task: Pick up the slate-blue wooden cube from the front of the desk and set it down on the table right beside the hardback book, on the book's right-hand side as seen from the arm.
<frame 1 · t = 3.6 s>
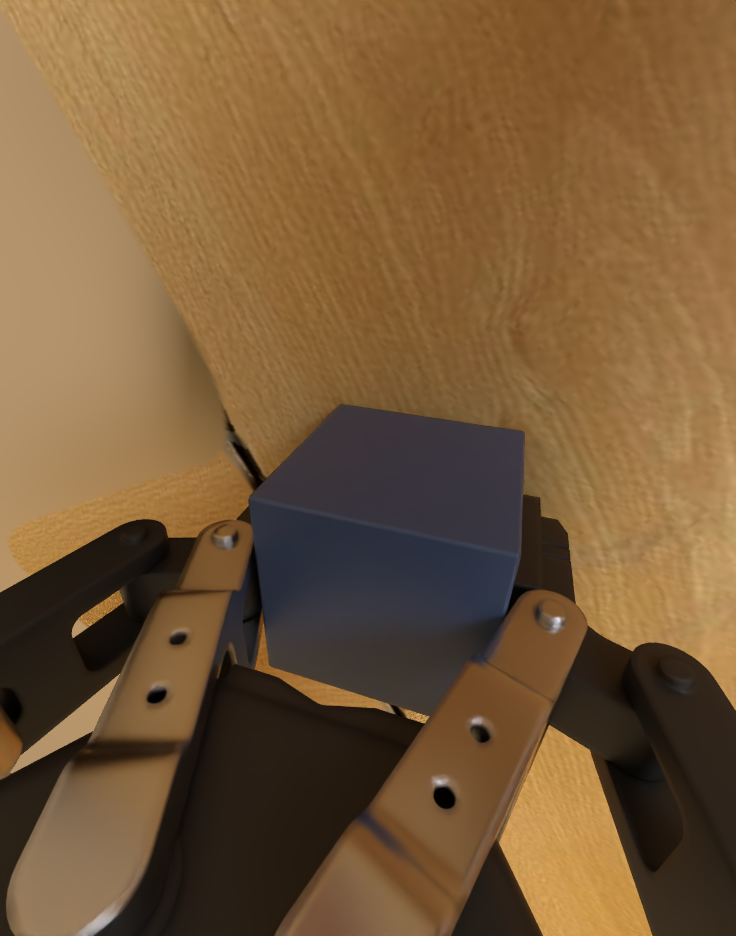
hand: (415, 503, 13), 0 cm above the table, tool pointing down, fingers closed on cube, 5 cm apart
cube: (419, 494, 13), on the table, touching gripper
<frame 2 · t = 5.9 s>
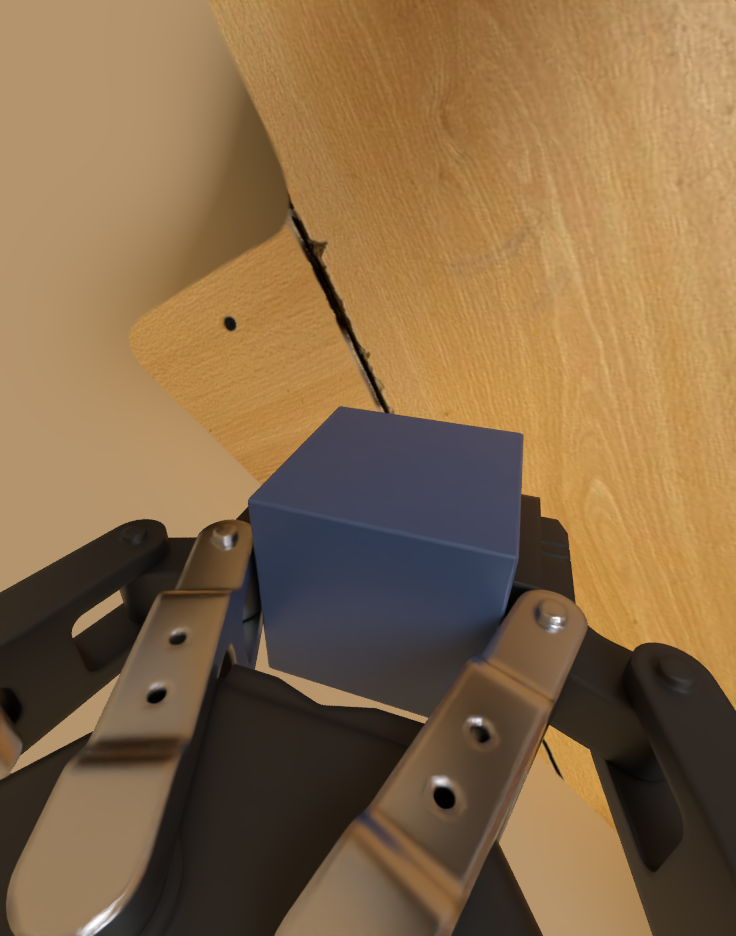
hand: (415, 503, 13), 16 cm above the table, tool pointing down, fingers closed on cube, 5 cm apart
cube: (419, 495, 13), point 15 cm above the table, touching gripper
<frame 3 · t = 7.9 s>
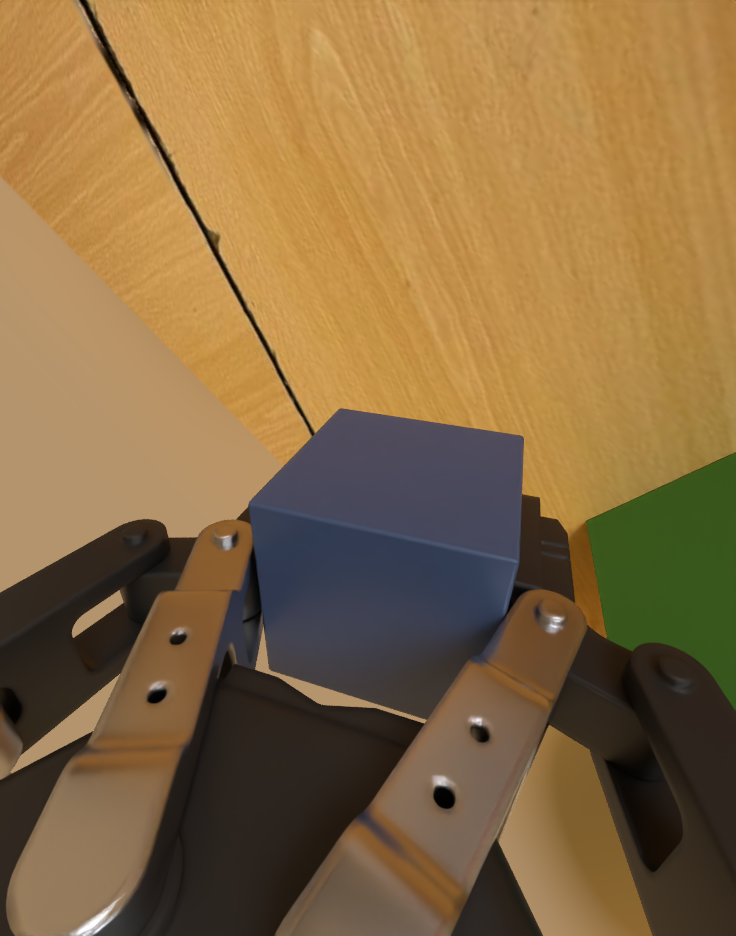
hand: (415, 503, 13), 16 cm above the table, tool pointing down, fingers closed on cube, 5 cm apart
cube: (419, 498, 13), point 15 cm above the table, touching gripper
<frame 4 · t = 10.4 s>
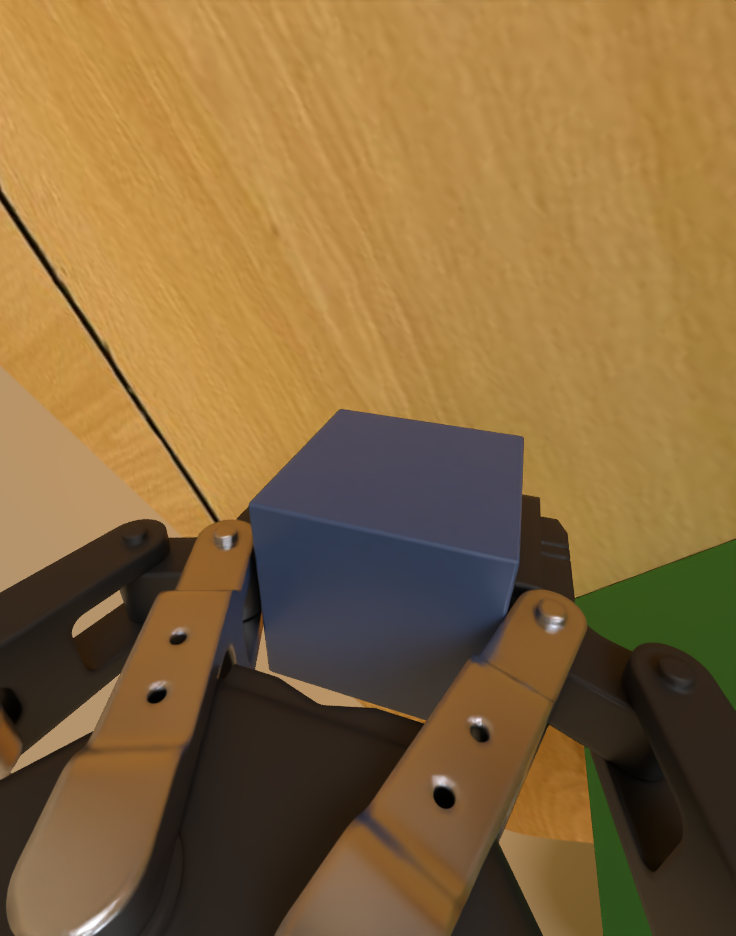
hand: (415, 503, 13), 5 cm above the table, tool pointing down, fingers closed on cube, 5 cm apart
cube: (419, 498, 13), point 4 cm above the table, touching gripper
when the fingers open (0 cm above the table, at t = 12.0 s): cube stays where it is, on the table.
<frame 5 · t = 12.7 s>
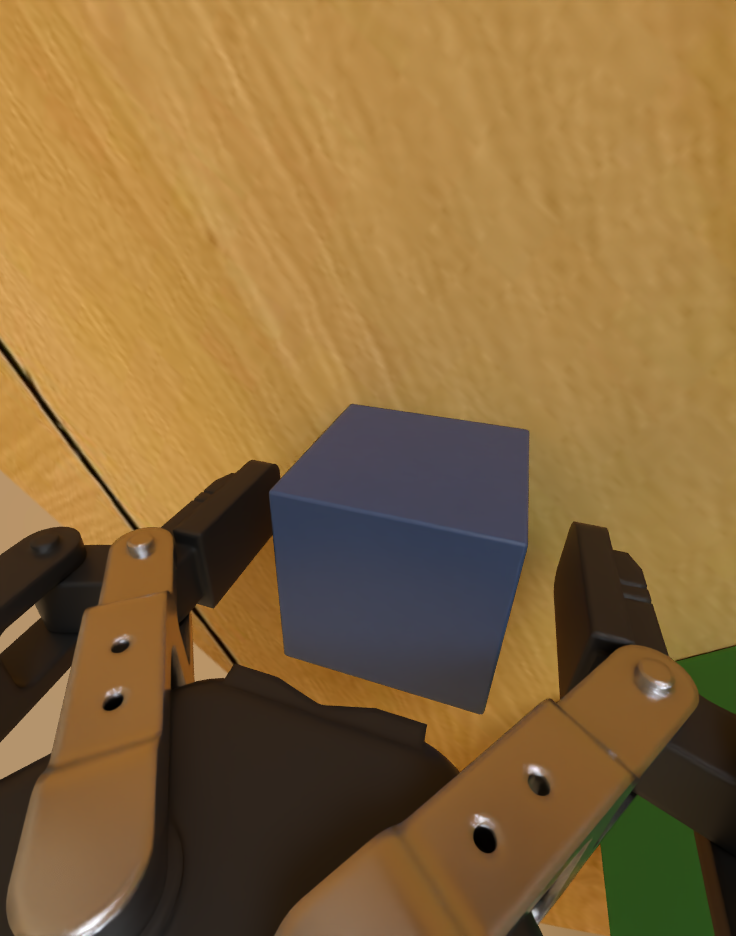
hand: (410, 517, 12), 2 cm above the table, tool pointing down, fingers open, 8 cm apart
cube: (427, 490, 14), on the table
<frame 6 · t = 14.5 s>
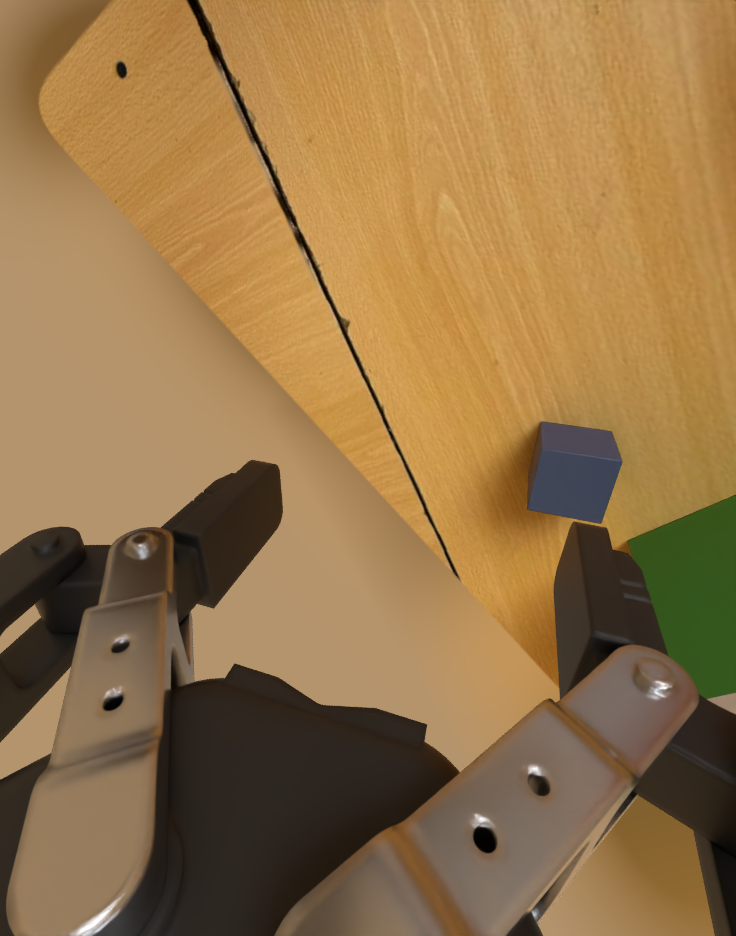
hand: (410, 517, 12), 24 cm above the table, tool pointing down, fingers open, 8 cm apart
cube: (567, 455, 35), on the table
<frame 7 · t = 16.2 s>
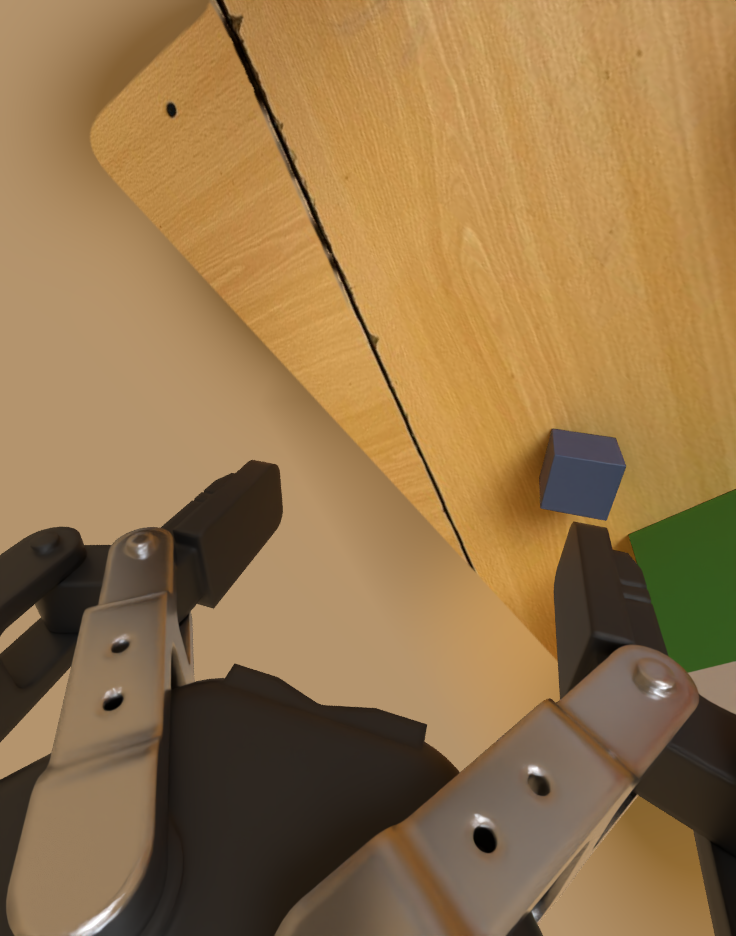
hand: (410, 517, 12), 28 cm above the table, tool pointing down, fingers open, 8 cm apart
cube: (575, 459, 39), on the table
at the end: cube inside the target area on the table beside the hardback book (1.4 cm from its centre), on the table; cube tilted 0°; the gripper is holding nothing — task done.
